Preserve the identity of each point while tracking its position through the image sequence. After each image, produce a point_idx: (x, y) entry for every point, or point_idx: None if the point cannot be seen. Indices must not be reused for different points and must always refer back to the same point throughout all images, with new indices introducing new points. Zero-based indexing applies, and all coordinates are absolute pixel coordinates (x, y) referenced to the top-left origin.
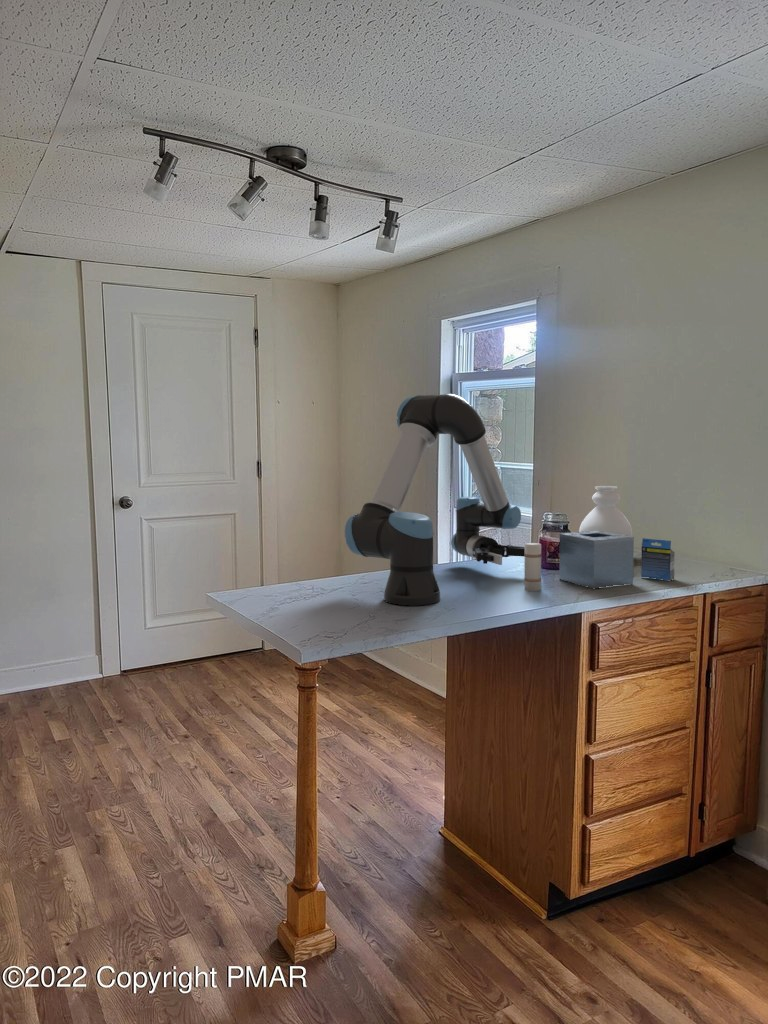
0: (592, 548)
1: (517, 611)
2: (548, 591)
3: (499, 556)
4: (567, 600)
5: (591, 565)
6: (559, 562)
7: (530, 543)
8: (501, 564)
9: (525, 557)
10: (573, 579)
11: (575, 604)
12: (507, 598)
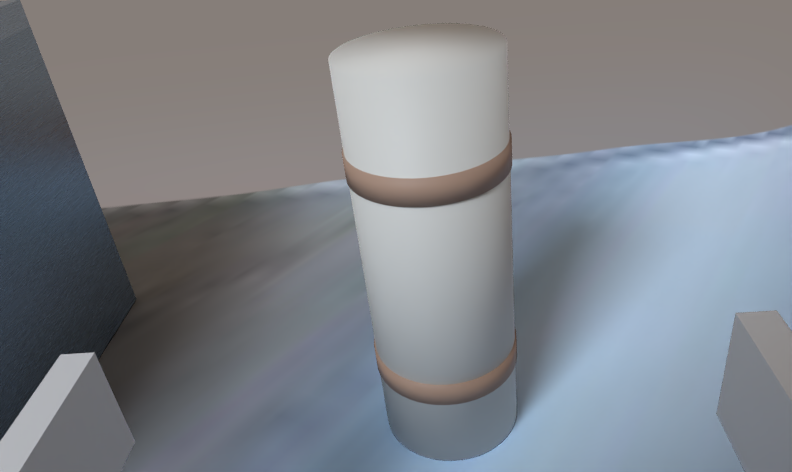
0: (33, 68)
1: (751, 144)
2: None
3: (778, 326)
4: None
5: (76, 185)
6: None
7: (403, 67)
8: (726, 410)
9: (509, 172)
10: None
11: None
12: (742, 285)
